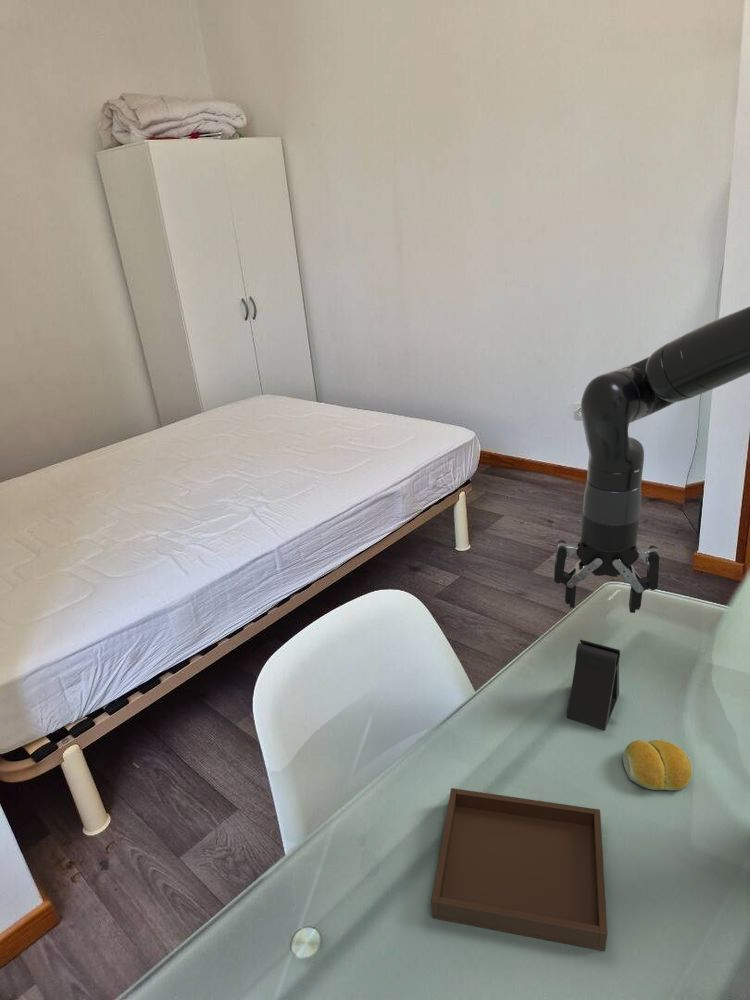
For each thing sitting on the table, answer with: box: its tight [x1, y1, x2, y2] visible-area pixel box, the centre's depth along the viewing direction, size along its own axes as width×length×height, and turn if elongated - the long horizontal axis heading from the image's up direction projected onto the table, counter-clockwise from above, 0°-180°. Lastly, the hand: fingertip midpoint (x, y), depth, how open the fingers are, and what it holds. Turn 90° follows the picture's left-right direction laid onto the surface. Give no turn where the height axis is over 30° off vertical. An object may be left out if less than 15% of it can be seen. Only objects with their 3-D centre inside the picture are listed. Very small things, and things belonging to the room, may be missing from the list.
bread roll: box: [622, 739, 693, 791], centre depth 98 cm, size 8×9×4 cm
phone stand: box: [566, 639, 621, 731], centre depth 108 cm, size 9×6×12 cm, turn 149°
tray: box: [430, 787, 608, 952], centre depth 86 cm, size 20×17×3 cm
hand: (601, 607), depth 102 cm, fingers open, 8 cm apart
